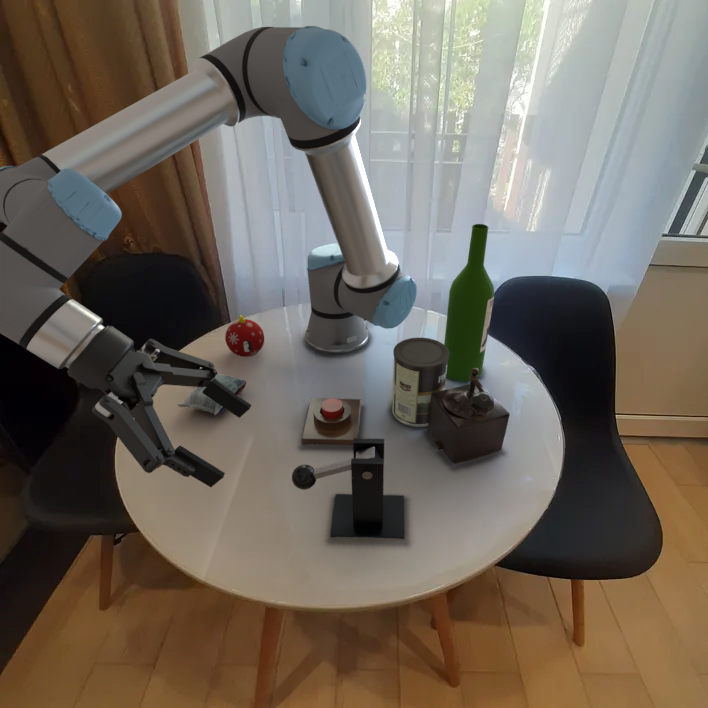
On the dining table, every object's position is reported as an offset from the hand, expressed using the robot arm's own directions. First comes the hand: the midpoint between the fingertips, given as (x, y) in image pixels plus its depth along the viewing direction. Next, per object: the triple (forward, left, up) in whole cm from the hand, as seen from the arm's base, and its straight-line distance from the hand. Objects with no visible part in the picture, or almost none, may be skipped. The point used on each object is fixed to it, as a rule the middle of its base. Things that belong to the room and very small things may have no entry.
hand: (233, 443), depth 66 cm
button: (-24, -4, -12) cm, 27 cm away
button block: (-24, -4, -16) cm, 29 cm away
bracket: (-11, +15, -16) cm, 24 cm away
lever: (-9, +12, -6) cm, 16 cm away
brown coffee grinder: (-34, +20, -16) cm, 42 cm away
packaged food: (-15, -28, -16) cm, 35 cm away
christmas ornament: (-31, -37, -16) cm, 51 cm away
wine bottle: (-56, +6, -16) cm, 58 cm away
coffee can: (-38, +6, -16) cm, 42 cm away
